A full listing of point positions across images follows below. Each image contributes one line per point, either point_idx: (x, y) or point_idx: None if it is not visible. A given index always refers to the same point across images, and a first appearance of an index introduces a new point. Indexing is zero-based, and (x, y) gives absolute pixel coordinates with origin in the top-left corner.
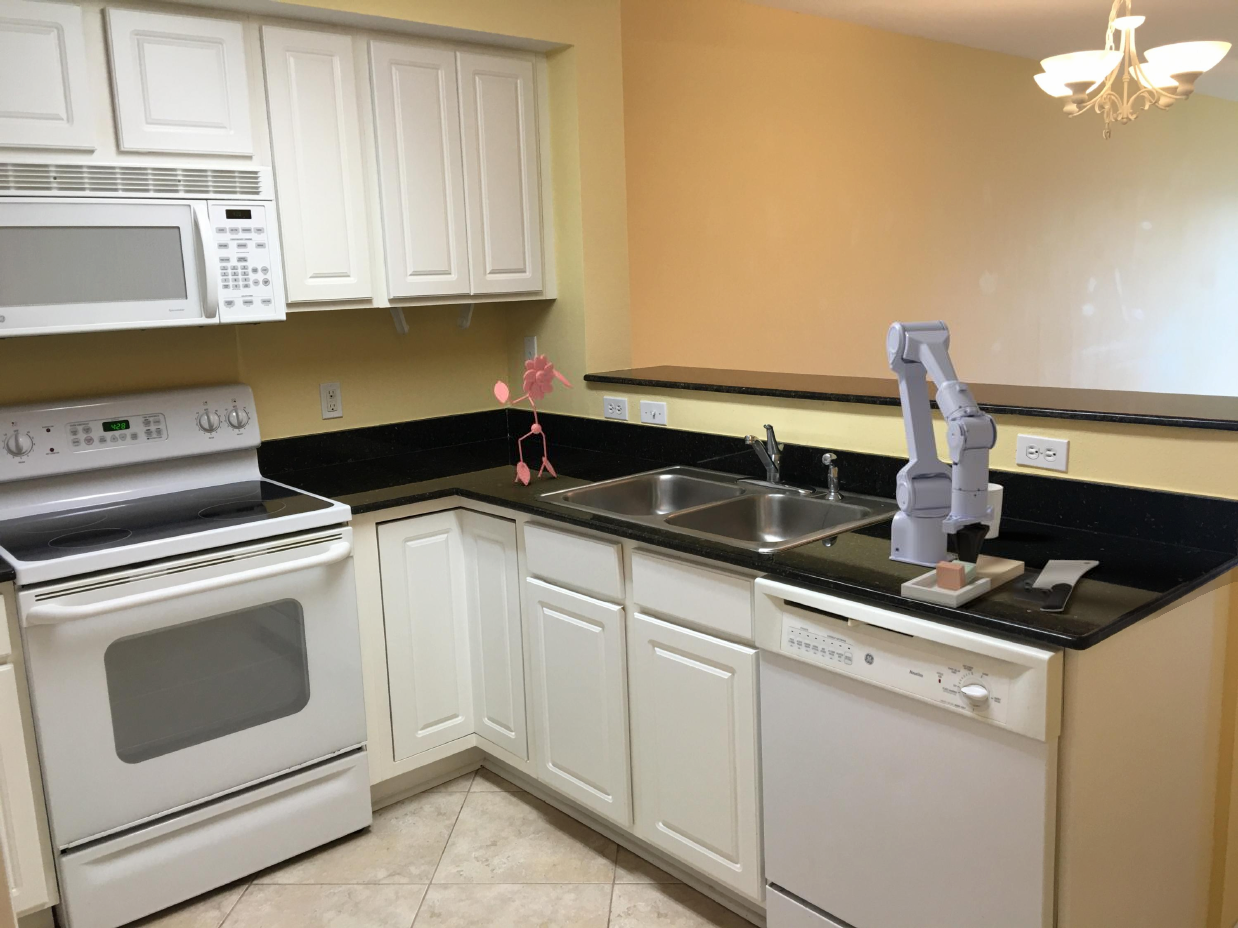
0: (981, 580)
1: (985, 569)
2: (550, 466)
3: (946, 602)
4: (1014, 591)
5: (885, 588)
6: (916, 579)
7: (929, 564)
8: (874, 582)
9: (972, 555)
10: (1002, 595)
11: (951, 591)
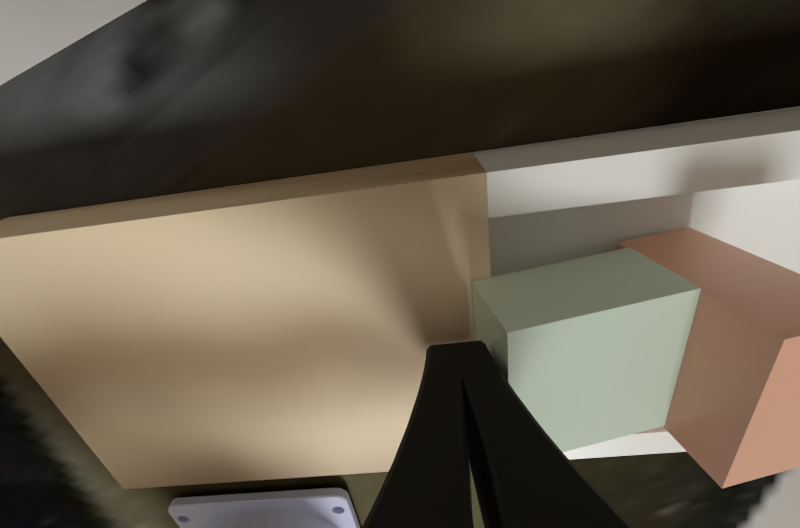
0: (580, 190)
1: (310, 314)
2: None
3: None
4: (375, 11)
5: None
6: None
7: (349, 511)
8: (672, 514)
9: (528, 418)
10: (528, 15)
11: None
